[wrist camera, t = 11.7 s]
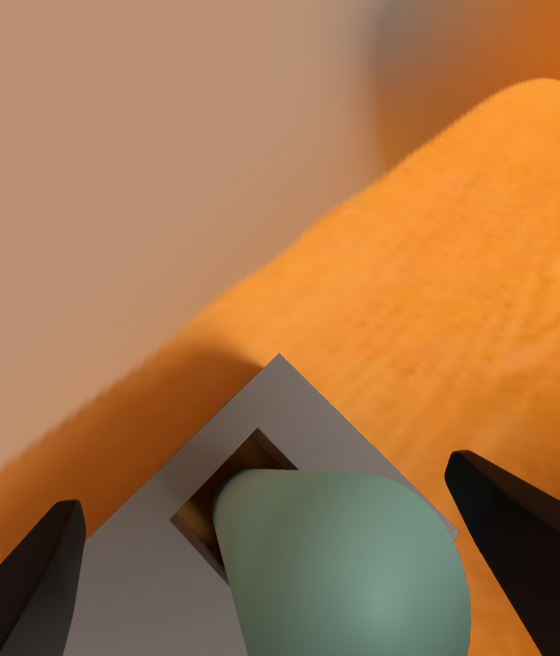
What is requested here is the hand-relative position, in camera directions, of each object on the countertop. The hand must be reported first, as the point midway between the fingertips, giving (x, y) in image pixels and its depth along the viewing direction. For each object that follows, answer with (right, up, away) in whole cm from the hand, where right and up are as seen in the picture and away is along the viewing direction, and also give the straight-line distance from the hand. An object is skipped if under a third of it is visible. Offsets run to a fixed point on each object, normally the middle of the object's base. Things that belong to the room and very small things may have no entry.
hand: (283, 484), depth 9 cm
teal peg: (-1, -4, +8) cm, 9 cm away
